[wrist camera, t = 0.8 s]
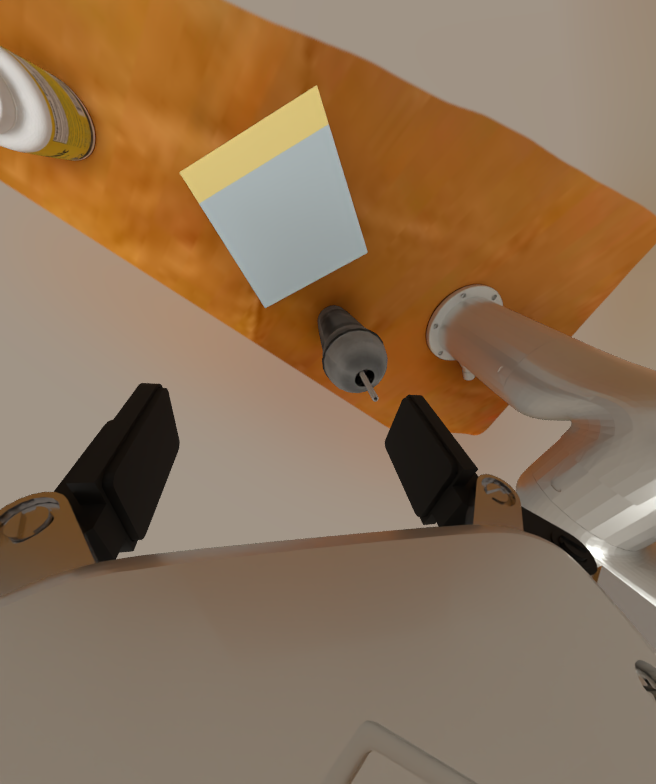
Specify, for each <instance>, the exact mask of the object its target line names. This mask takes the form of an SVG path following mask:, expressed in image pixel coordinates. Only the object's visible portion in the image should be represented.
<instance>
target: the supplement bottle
mask: <svg viewBox="0 0 656 784" xmlns="http://www.w3.org/2000/svg"><path fill="white" fill-rule="evenodd" d="M94 145H95V131H94V127H93V123H92V120H91V118H90V116H89V114H88V112H87V110H86V108H85V107H84V105H83V103H82V102H81V101H80V99H79V98H78V97H77V96H76V94H75V93H74V92H73V91H72V90H71V89H70V88H69V87H68V86H67V85H66V84H64V83H63V82H62V81H61V80H59V79H58V78H56V77H55V76H53V75H52V74H50V73H48V72H46V71H45V70H43V69H41V68H39V67H37V66H36V65H34V64H32V63H30V62H28V61H27V60H25V59H23V58H21V57H20V56H18V55H16V54H14V53H12V52H11V51H9V50H7V49H5V48H4V47H2V46H0V146H3V147H5V148H8V149H11V150H15V151H19V152H24V153H30V154H36V155H41V156H47V157H53V158H59V159H65V160H73V161H76V160H82V159H85V158H86V157H88V156H89V155H90V154H91V153H92V151H93V149H94Z"/></svg>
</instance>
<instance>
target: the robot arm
mask: <svg viewBox="0 0 656 784" xmlns="http://www.w3.org/2000/svg"><path fill="white" fill-rule="evenodd" d="M426 338H427V344H428V347H429V349H430V350H431V352H433V353H434V354H435V355H436V356H437V357H439V358H441V359H444V360H457V361H458V362H459V363H460V366H461V367H462V368H463V369H462V372H463V378H464V379H465V380H472V379H474V378H475V376H476V377H477V378H478V379H479V380H481V381H482V382H483V383H484V384H485V385H486V386H488V387H489V388H490V389H491V390H492V391H494V392H495V393H496V394H497V395H498V396H500V397H501V398H502V399H503V400H504V401H505V402H507V403H508V404H509V405H510V406H512V407H513V408H514V409H515V410H517V411H518V412H520V413H522V414H524V415H526V416H529V417H532V418H537V419H542V420H557V421H571V422H572V424H571V427H570V428H569V429H568V430H567V431H566V432H565V433H564V434H563V435H562V436H561V438H560V439H559V440H558V441H557V442H556V443H555V444H554V445H553V446H552V447H550V449H548V450H547V451H546V452H545V453H544V454H543V455H542V456H540V457H539V458H538V459H537V460H536V461H535V462H534V463H533V464H532V465H531V466H529V467H528V468H527V469H526V471H524V472H523V473H522V475H521V476H520V477H519V479H518V481H517V484H516V491H515V490H514V489H513V488H512V487H511V486H510V485H509V484H508V483H506V482H505V481H504V480H502V479H500V478H498V477H496V476H493V475H490V474H483V475H480V476H479V477H478V476H477V474H476V473H475V472H476V471H477V470H478V468H477V467H476V466H475V464H474V463H473V462H472V460H471V459H470V458H469V456H468V455H467V454H466V453H465V451H464V450H463V449H462V447H461V446H460V445H459V443H458V442H457V441H456V439H455V438H454V437H453V435H452V434H451V433H450V431H449V430H448V429H447V428H446V426H445V425H444V424H443V422H442V421H441V420H440V418H439V417H438V416H437V414H436V413H435V412H434V411H433V409H432V408H431V407H430V405H429V404H428V403H427V401H426V400H425V399H424V397H423V396H421V395H408V396H407V397H406V398H404V399H403V400H402V402H401V404H400V407H399V409H398V411H397V414H396V416H395V418H394V421H393V423H392V426H391V428H390V430H389V433H388V435H387V438H386V440H385V447H386V450H387V452H388V454H389V456H390V459H391V461H392V463H393V465H394V468H395V470H396V472H397V474H398V476H399V479H400V481H401V483H402V485H403V488H404V490H405V492H406V494H407V496H408V499H409V501H410V503H411V505H412V508H413V509H414V512H415V514H416V515H417V516H418V517H420V519H421V521H422V523H423V525H428V524H435V523H436V522H437V524H438V526H439V527H427V528H416V529H405V530H393V531H383V532H371V533H360V534H349V535H338V536H327V537H317V538H306V539H295V540H285V541H275V542H265V543H255V544H244V545H234V546H224V547H214V548H204V549H195V550H185V551H177V552H168V553H160V554H151V555H142V556H135V557H128V558H122V559H116V558H117V555H118V553H119V552H130V551H134V548H135V546H136V543H137V541H138V540H142V539H143V538H144V537H145V535H146V532H147V530H148V527H149V525H150V522H151V520H152V517H153V515H154V512H155V509H156V507H157V504H158V502H159V499H160V496H161V494H162V491H163V489H164V486H165V483H166V481H167V478H168V476H169V473H170V471H171V468H172V465H173V463H174V460H175V457H176V455H177V453H178V450H179V437H178V433H177V428H176V423H175V419H174V415H173V410H172V406H171V401H170V397H169V392H168V390H167V389H166V388H163V387H162V385H161V384H149V383H141V384H140V385H139V386H138V387H137V388H136V390H135V391H134V392H133V394H132V395H131V397H130V398H129V399H128V400H127V402H126V403H125V405H124V406H123V407H122V409H121V410H120V411H119V413H118V414H117V415H116V417H115V418H114V419H113V420H111V421H108V422H107V423H106V424H105V425H104V426H103V428H102V429H101V430H100V432H99V433H98V434H97V436H96V437H95V438H94V440H93V441H92V442H91V444H90V445H89V446H88V447H87V449H86V450H85V452H84V453H83V454H82V455H81V457H80V458H79V459H78V461H77V462H76V463H75V465H74V466H73V467H72V468H71V470H70V471H69V473H68V474H67V475H66V476H65V478H64V479H63V480H62V482H61V483H60V484H59V486H58V487H57V488H56V489H55V491H54V492H41V493H36V494H31V495H29V496H26V497H23V498H20V499H18V500H16V501H14V502H12V503H10V504H8V505H6V506H5V507H3V508H2V509H1V510H0V784H656V371H655V370H652V369H650V368H647V367H644V366H641V365H638V364H635V363H632V362H629V361H627V360H624V359H622V358H619V357H617V356H614V355H612V354H609V353H607V352H604V351H602V350H600V349H597V348H595V347H593V346H590V345H588V344H586V343H584V342H581V341H579V340H577V339H575V338H572V337H570V336H568V335H565V334H563V333H561V332H559V331H556V330H554V329H552V328H550V327H548V326H545V325H543V324H541V323H539V322H537V321H534V320H532V319H530V318H528V317H526V316H523V315H521V314H519V313H517V312H514V311H512V310H510V309H508V308H506V307H503V302H502V299H501V296H500V295H499V293H498V292H497V291H496V290H494V289H493V288H491V287H488V286H486V285H480V284H477V285H470V286H466V287H463V288H461V289H459V290H457V291H455V292H454V293H452V294H451V295H449V296H448V297H447V298H446V299H445V300H444V301H443V302H442V303H441V304H440V305H439V306H438V307H437V309H436V310H435V312H434V313H433V315H432V317H431V319H430V321H429V324H428V328H427V334H426Z"/></svg>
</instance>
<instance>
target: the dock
mask: <svg viewBox="0 0 656 784" xmlns="http://www.w3.org/2000/svg"><path fill="white" fill-rule="evenodd" d="M179 173H180V174H181V176H182V177H183V179H184V180H185V182H186V184H187V185H188V187H189V188H190V190H191V192H192V193H193V195H194V196H195V198H196V199H197V201H198V203H199V204H200V206H201V207H202V209H203V211H204V212H205V214H206V215H207V217H208V219H209V220H210V222H211V223H212V225H213V226H214V228H215V230H216V231H217V233H218V234H219V236H220V238H221V239H222V241H223V242H224V244H225V245H226V247H227V249H228V250H229V252H230V253H231V255H232V257H233V258H234V260H235V261H236V263H237V264H238V266H239V268H240V269H241V271H242V272H243V274H244V276H245V277H246V279H247V280H248V282H249V283H250V285H251V287H252V288H253V290H254V291H255V293H256V295H257V296H258V298H259V299H260V301H261V302H262V304H263V306H264V307H265V308H267V307H268V306H270V305H272V304H274V303H276V302H278V301H279V300H281V299H283V298H285V297H287V296H289V295H290V294H292V293H294V292H296V291H298V290H300V289H302V288H303V287H305V286H307V285H309V284H311V283H313V282H314V281H316V280H318V279H320V278H322V277H324V276H326V275H327V274H329V273H331V272H333V271H335V270H337V269H338V268H340V267H342V266H344V265H346V264H348V263H349V262H351V261H353V260H355V259H357V258H359V257H361V256H362V255H364V254H366V253H368V252H367V248H366V245H365V242H364V239H363V235H362V232H361V229H360V225H359V222H358V219H357V216H356V212H355V209H354V206H353V203H352V199H351V196H350V193H349V189H348V186H347V183H346V180H345V176H344V173H343V170H342V166H341V163H340V160H339V157H338V153H337V150H336V147H335V143H334V140H333V137H332V134H331V130H330V127H329V124H328V120H327V117H326V114H325V111H324V107H323V104H322V101H321V97H320V94H319V91H318V88H317V85H316V86H315V87H313V88H312V89H310V90H308V91H307V92H305V93H304V94H302V95H301V96H299V97H297V98H296V99H294V100H293V101H291V102H290V103H288V104H286V105H285V106H283V107H282V108H280V109H278V110H277V111H275V112H274V113H272V114H271V115H269V116H267V117H266V118H264V119H263V120H261V121H260V122H258V123H256V124H255V125H253V126H252V127H250V128H249V129H247V130H245V131H244V132H242V133H241V134H239V135H238V136H236V137H234V138H233V139H231V140H230V141H228V142H227V143H225V144H223V145H222V146H220V147H219V148H217V149H215V150H214V151H212V152H211V153H209V154H208V155H206V156H204V157H203V158H201V159H200V160H198V161H197V162H195V163H193V164H192V165H190V166H189V167H187V168H186V169H184V170H182V171H181V172H179Z"/></svg>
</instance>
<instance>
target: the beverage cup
mask: <svg viewBox="0 0 656 784" xmlns="http://www.w3.org/2000/svg"><path fill="white" fill-rule="evenodd" d="M318 329H319V335H320V339H321V344H322V349H323V358H322V364H323V369H324V371H325V373H326V375H327V377H328V378H329V379H330V380H331V381H332V382H333V383H334V384H335V385H336V386H337V387H338V388H340V389H342V390H344V391H347V392H352V393H360V392H365V391H368V392H369V394H370V396H371V398H372V400H373V401H377V400H378V396H377V394H376V393H375V391H374V389H373V387H375V386H376V385H377V384H378V383H379V382H380V381H381V379H382V378H383V376H384V374H385V372H386V369H387V354H386V351H385V348H384V345H383V341H382V340H381V339H380V337H379V336H378V335H377V334H376V333H374V332H372V331H370V330H368V329H366V328H364V327H363V326H362V325H361V324H360V323H359V322H358V321H357V320H356V319H355V318H353V317H352V316H351V315H350V314H349V313H348V312H347V311H345V310H344V309H343V308H341V307H339V306H335V305H334V306H329V307H326V308H325V309H324V310H322V311H321V313H320V315H319V317H318Z"/></svg>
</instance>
